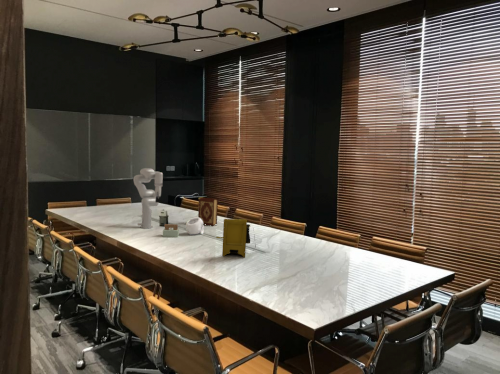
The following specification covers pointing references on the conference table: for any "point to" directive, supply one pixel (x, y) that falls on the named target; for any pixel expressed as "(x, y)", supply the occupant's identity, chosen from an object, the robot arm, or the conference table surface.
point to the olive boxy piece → (235, 236)
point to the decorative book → (208, 210)
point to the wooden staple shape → (171, 226)
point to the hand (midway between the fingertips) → (157, 201)
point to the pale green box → (170, 233)
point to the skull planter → (195, 226)
